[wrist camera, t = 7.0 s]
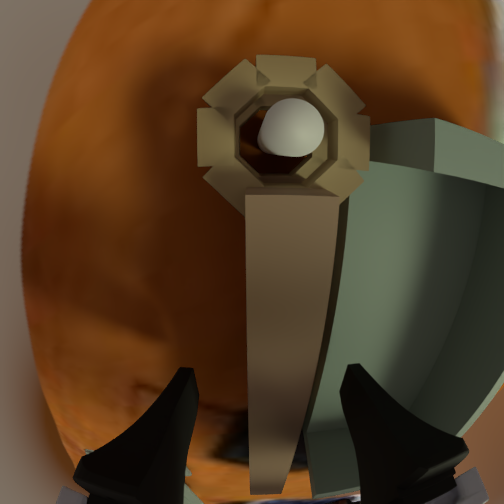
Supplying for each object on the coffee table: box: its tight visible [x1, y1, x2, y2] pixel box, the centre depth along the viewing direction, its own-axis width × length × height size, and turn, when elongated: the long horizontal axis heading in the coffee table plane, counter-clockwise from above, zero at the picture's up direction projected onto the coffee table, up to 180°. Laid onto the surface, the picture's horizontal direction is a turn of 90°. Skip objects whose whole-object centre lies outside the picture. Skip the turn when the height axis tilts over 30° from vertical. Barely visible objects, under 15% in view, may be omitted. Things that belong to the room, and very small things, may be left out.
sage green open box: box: [257, 98, 504, 499], centre depth 11 cm, size 20×13×6 cm, turn 0°
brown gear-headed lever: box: [197, 55, 370, 495], centre depth 11 cm, size 22×4×6 cm, turn 0°
